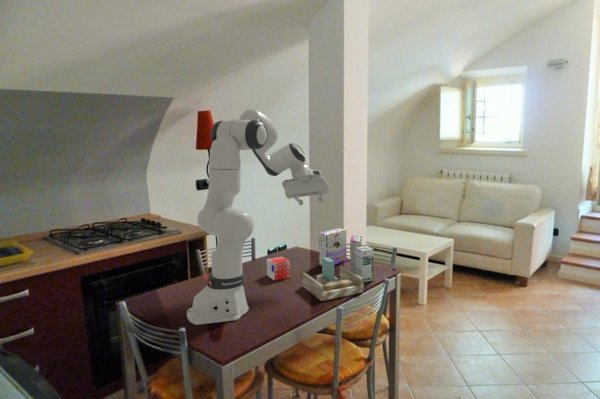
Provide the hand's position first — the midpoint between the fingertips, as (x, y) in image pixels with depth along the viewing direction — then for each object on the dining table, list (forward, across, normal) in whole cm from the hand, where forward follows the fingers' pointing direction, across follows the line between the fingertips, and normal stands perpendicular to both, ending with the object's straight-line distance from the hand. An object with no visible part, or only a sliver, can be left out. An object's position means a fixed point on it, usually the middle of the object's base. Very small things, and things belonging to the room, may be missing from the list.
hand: (311, 202), depth 186 cm
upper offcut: (+39, 0, +5) cm, 39 cm away
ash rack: (+37, 0, +9) cm, 39 cm away
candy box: (+17, +14, +34) cm, 40 cm away
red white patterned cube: (+21, -17, +26) cm, 38 cm away
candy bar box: (+28, +18, +22) cm, 40 cm away
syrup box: (+35, +17, +14) cm, 41 cm away
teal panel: (+35, 0, +12) cm, 37 cm away
